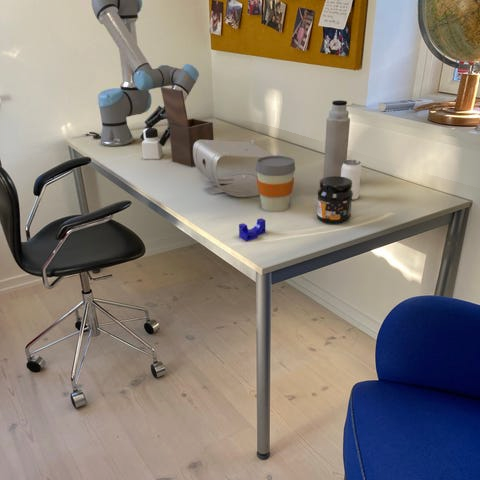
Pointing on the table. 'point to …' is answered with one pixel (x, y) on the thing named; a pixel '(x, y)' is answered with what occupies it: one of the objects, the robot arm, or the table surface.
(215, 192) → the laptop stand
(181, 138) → the chest
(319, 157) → the table surface
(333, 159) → the thermos bottle
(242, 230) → the cable holder
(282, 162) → the reusable coffee cup
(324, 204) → the supplement container
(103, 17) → the robot arm
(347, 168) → the can
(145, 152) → the medicine bottle
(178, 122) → the lid
